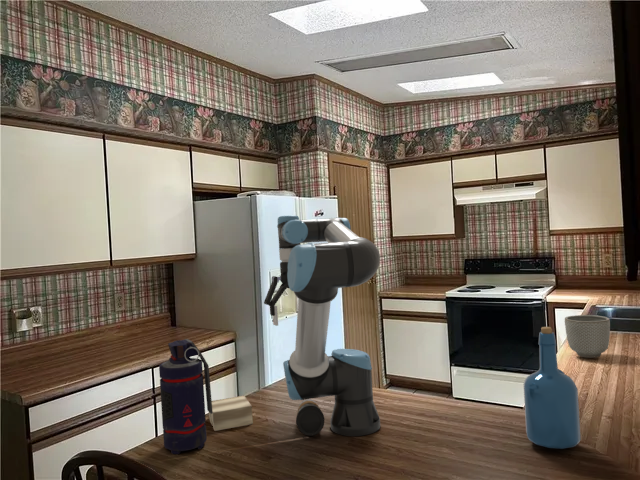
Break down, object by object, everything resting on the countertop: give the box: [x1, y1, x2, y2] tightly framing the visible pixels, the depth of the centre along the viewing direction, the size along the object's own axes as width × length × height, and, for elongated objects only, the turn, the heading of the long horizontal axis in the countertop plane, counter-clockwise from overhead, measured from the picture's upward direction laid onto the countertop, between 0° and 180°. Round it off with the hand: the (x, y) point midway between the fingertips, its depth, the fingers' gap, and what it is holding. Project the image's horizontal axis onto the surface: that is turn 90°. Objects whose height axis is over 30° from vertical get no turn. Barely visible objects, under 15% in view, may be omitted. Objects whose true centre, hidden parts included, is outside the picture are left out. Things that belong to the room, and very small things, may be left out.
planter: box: [564, 314, 611, 359], centre depth 221 cm, size 17×17×16 cm
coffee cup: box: [295, 399, 325, 437], centre depth 155 cm, size 8×8×15 cm
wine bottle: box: [523, 326, 581, 450], centre depth 136 cm, size 14×13×30 cm
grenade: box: [158, 338, 213, 455], centre depth 147 cm, size 14×12×30 cm
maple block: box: [208, 395, 254, 432], centre depth 166 cm, size 12×12×6 cm
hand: (294, 322), depth 176 cm, fingers open, 13 cm apart
